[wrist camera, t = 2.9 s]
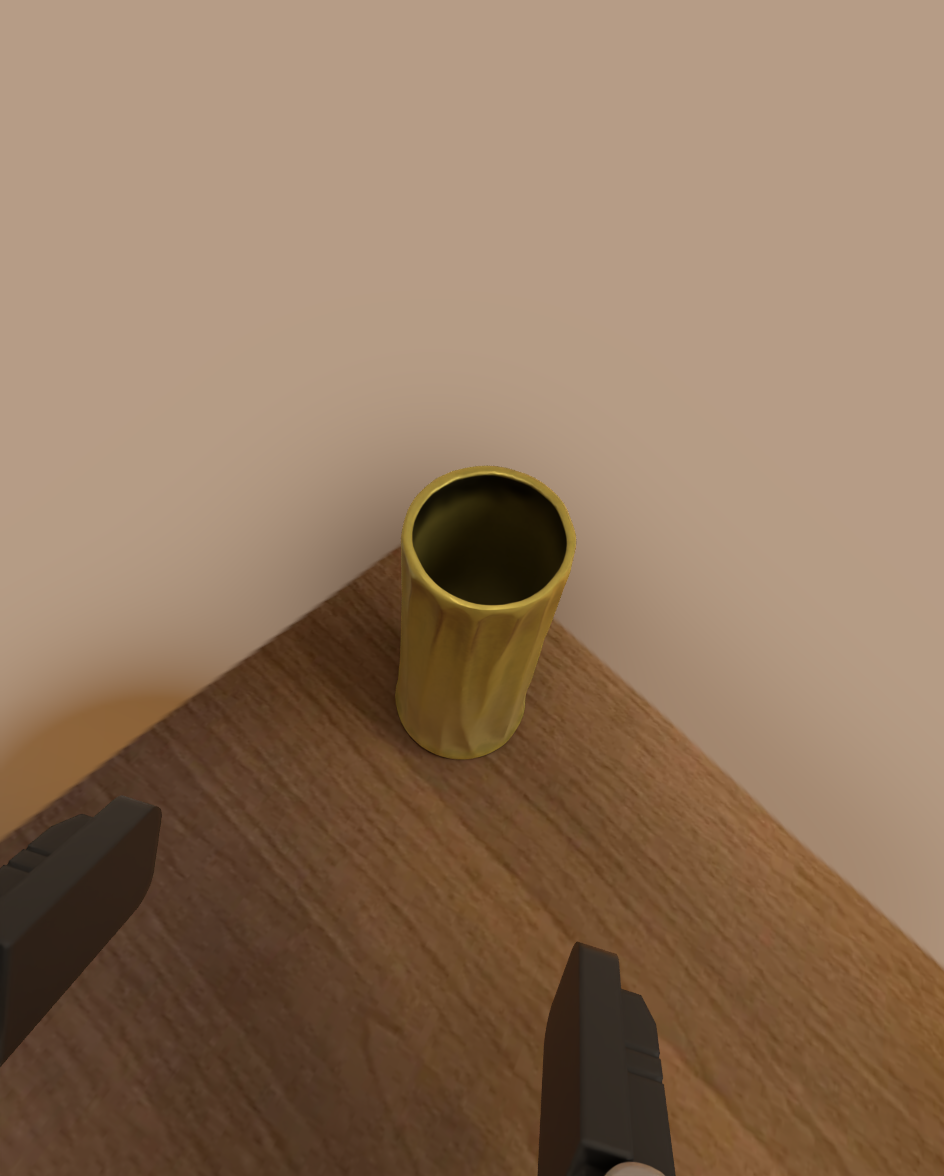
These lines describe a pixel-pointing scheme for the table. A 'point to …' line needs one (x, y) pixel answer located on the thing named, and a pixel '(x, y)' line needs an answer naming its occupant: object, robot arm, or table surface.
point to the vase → (477, 604)
